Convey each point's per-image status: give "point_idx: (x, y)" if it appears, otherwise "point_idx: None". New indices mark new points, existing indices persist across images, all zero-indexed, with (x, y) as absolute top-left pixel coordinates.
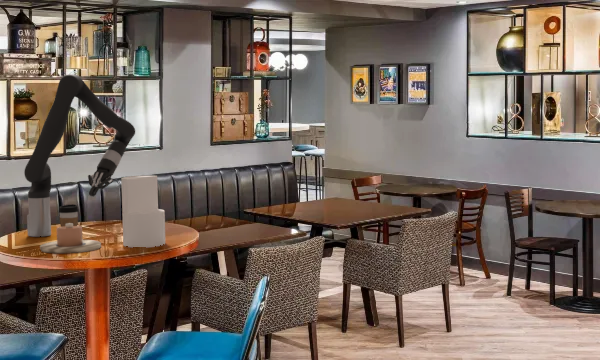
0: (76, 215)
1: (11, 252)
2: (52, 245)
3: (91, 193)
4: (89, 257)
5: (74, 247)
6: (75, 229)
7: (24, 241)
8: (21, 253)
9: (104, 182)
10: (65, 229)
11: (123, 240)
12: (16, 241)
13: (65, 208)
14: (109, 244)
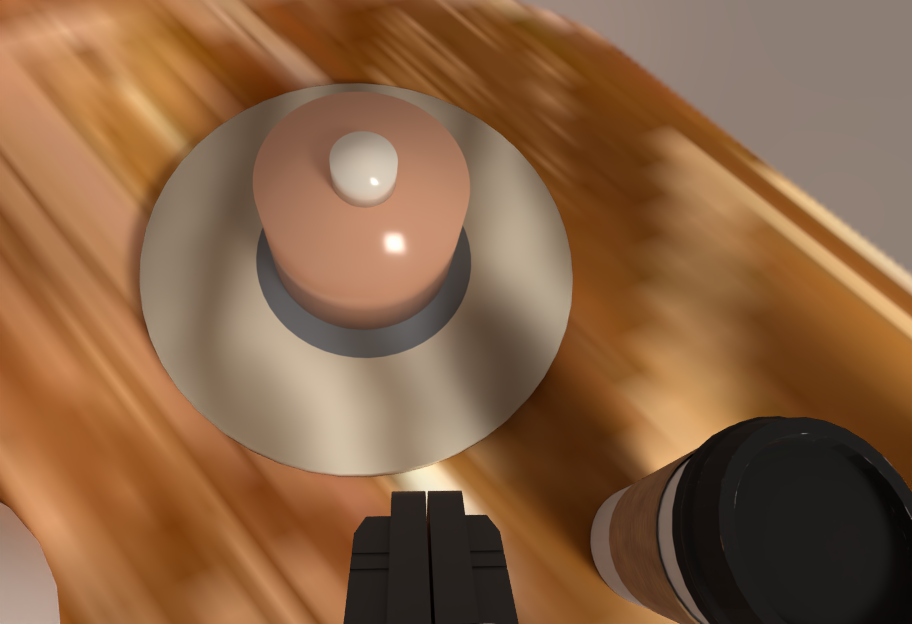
0: (672, 568)
1: (585, 52)
2: None
3: (397, 494)
4: (23, 61)
5: None
6: (263, 146)
7: (859, 354)
8: (511, 46)
9: None
10: (324, 97)
11: (5, 527)
12: (899, 334)
13: (755, 429)
14: (181, 511)
